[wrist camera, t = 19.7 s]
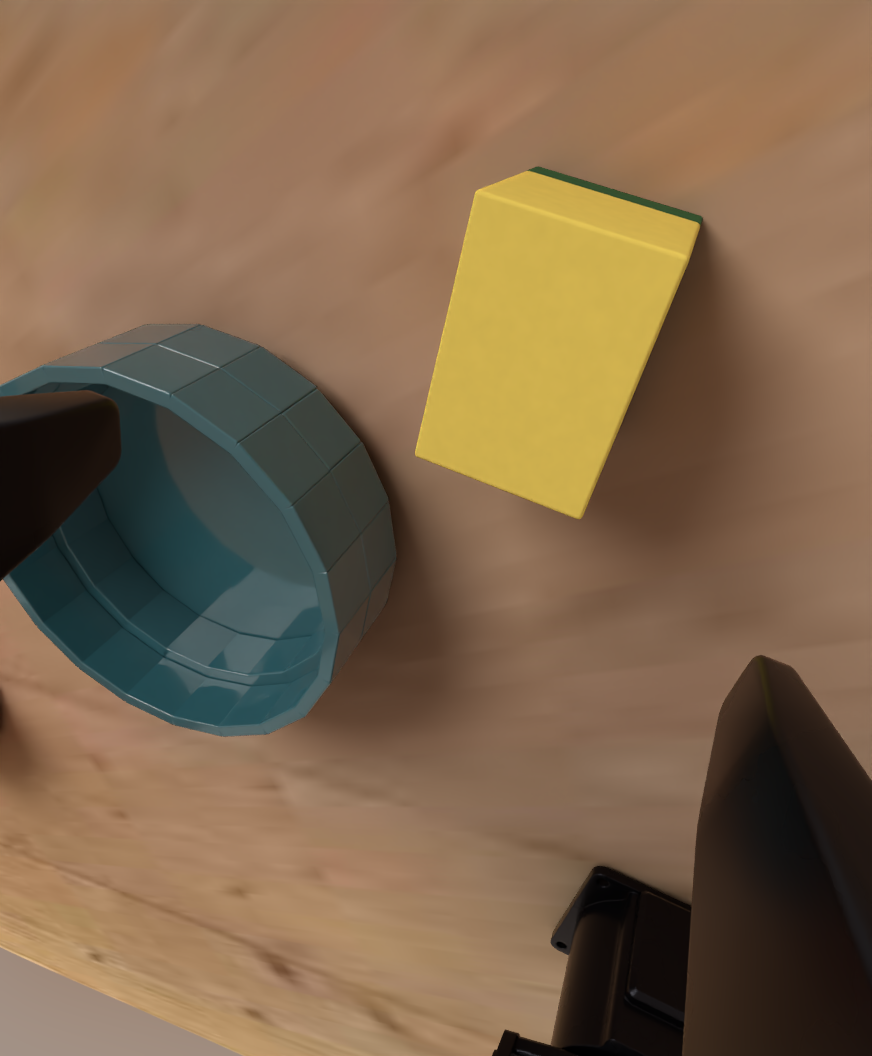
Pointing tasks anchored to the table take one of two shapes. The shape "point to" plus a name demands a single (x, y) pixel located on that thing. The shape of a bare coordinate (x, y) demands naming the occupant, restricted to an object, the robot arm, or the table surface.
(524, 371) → the sponge
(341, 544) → the bowl
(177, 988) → the table surface
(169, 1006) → the table surface
